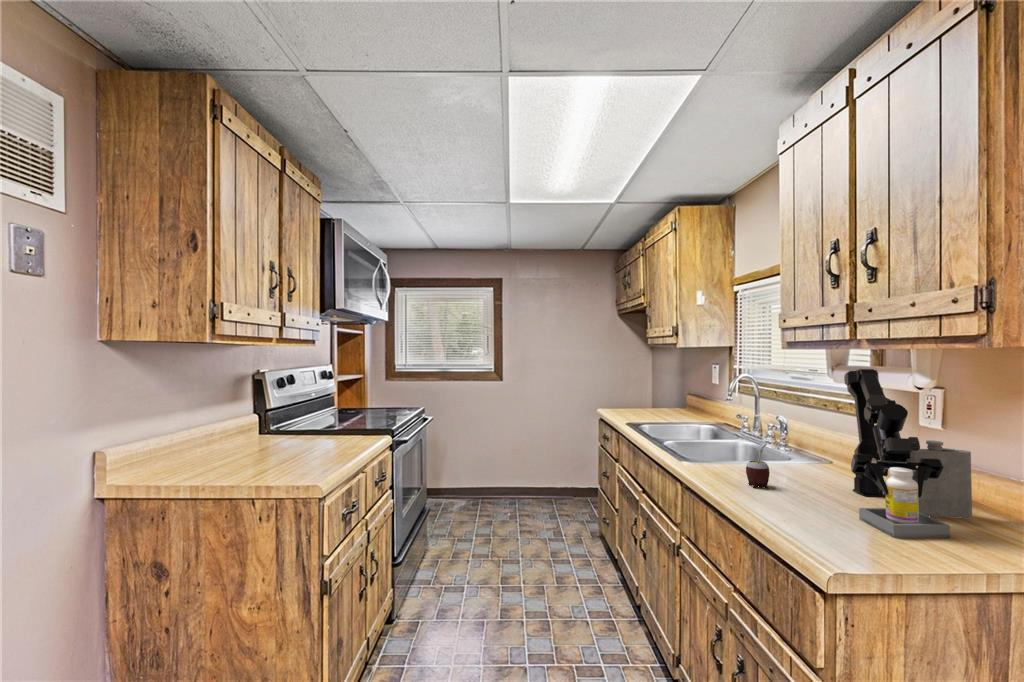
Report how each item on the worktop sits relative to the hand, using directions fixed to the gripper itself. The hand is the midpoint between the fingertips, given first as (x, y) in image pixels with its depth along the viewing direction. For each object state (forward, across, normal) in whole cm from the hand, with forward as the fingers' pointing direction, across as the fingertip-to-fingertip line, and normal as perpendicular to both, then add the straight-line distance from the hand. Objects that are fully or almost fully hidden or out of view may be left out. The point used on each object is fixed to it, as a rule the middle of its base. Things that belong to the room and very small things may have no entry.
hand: (903, 495), depth 127 cm
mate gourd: (-15, -31, +28) cm, 44 cm away
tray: (+5, 0, +7) cm, 9 cm away
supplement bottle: (+4, 0, +6) cm, 7 cm away
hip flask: (-5, +12, +18) cm, 22 cm away
